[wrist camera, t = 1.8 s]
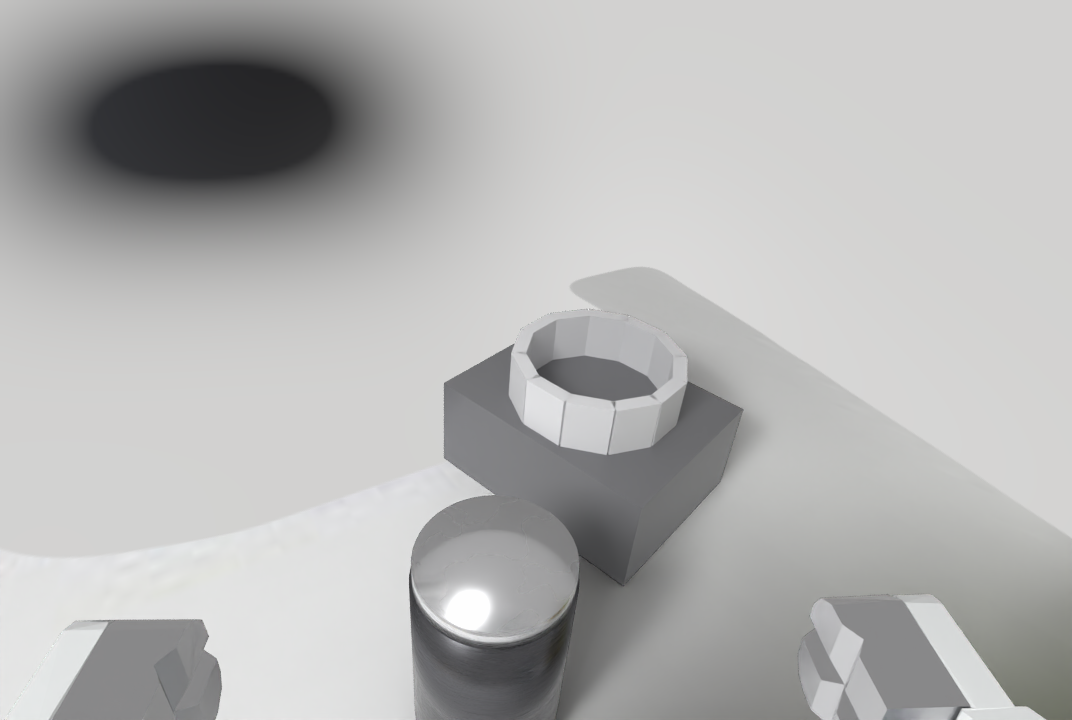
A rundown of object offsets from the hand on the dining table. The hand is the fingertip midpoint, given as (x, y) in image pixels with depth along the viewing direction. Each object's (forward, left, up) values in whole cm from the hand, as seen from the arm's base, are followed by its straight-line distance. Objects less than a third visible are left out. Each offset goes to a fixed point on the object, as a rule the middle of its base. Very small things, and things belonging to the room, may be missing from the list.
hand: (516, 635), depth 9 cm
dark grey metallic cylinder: (-7, +8, -22) cm, 25 cm away
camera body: (-13, +23, -22) cm, 35 cm away
